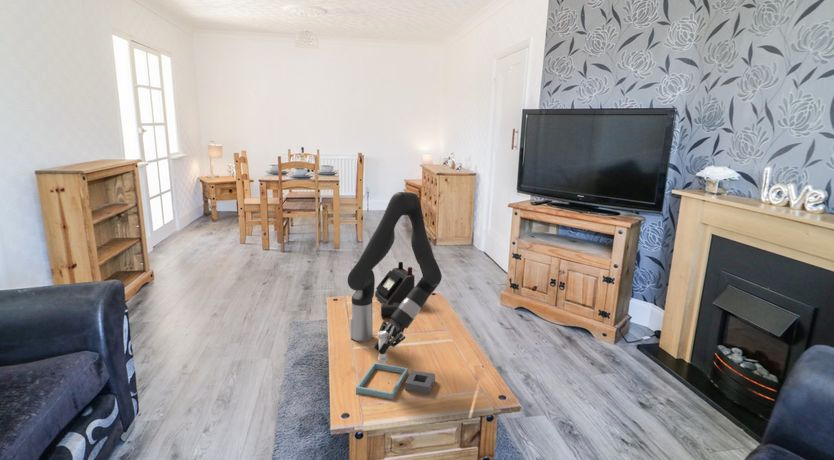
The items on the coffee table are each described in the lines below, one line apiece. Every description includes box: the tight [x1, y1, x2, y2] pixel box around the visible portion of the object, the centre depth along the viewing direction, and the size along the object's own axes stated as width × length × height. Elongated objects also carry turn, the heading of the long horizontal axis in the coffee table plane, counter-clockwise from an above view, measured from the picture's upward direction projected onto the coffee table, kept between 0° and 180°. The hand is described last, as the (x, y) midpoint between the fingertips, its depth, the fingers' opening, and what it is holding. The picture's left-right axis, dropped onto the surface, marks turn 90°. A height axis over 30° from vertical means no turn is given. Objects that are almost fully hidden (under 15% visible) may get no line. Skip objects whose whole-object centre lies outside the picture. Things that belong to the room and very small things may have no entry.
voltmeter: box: [374, 261, 416, 305], centre depth 244 cm, size 16×16×20 cm
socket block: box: [404, 369, 436, 396], centre depth 165 cm, size 9×9×4 cm
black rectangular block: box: [380, 302, 400, 319], centre depth 225 cm, size 10×7×7 cm
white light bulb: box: [377, 330, 389, 364], centre depth 164 cm, size 4×4×11 cm
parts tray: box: [355, 362, 409, 400], centre depth 167 cm, size 14×18×3 cm
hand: (378, 350), depth 163 cm, fingers closed on white light bulb, 3 cm apart
